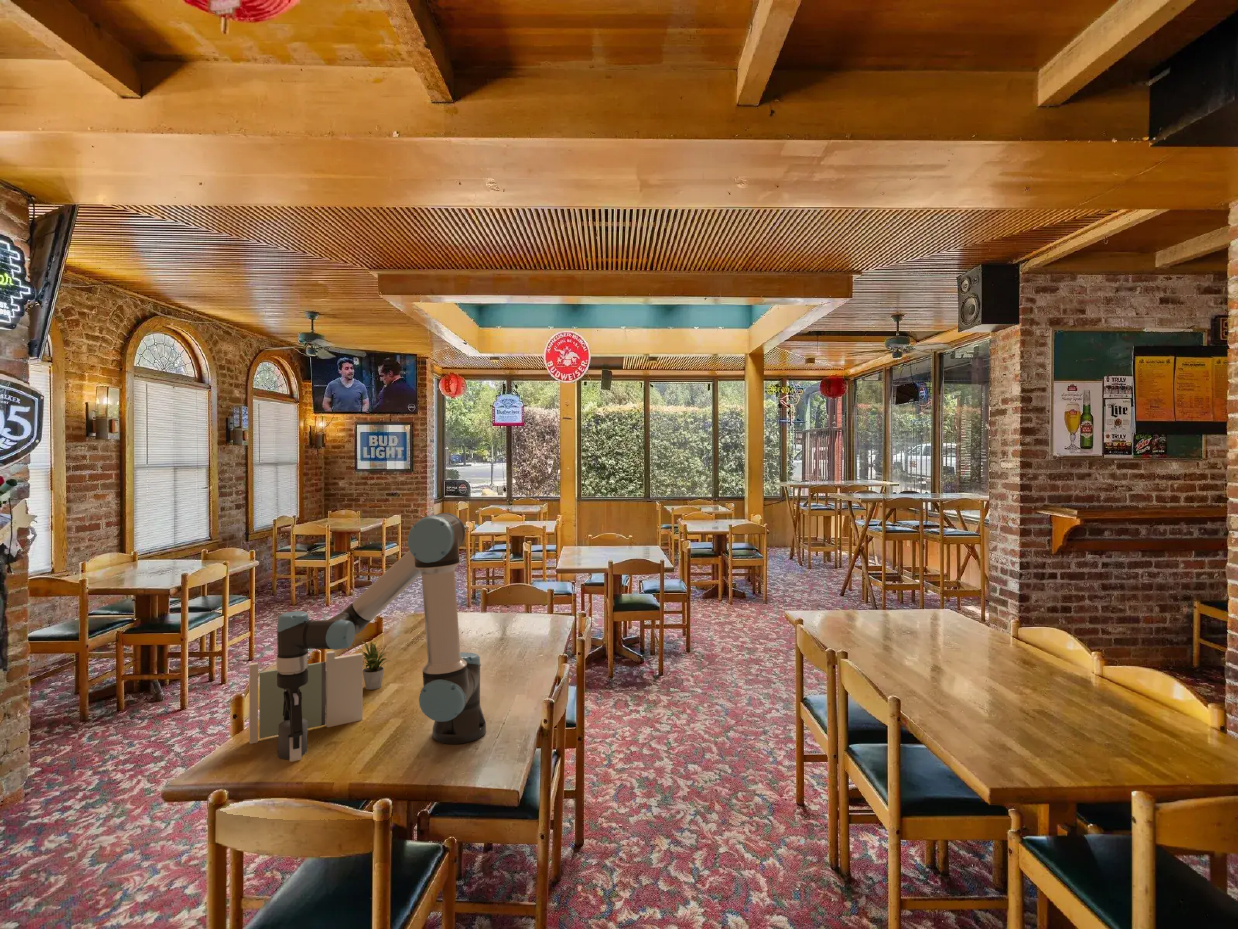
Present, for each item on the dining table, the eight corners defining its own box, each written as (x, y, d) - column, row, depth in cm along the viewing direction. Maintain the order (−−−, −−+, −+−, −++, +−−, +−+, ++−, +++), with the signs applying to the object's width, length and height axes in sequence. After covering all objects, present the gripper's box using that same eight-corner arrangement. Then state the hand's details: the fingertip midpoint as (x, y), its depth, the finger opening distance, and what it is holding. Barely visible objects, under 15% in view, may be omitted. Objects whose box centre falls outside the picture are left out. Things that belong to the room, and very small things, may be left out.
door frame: (362, 720, 195) (362, 648, 195) (249, 744, 178) (249, 665, 178) (361, 717, 197) (361, 646, 197) (249, 741, 180) (249, 663, 180)
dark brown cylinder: (308, 755, 172) (308, 725, 172) (278, 761, 168) (279, 730, 168) (305, 745, 178) (305, 716, 178) (276, 751, 174) (277, 721, 174)
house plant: (339, 688, 223) (339, 641, 223) (374, 677, 234) (374, 633, 234) (364, 697, 215) (364, 648, 215) (399, 685, 226) (399, 639, 226)
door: (325, 724, 190) (326, 662, 190) (259, 738, 180) (260, 673, 180) (325, 723, 191) (325, 661, 191) (259, 737, 181) (259, 671, 181)
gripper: (315, 679, 165) (315, 764, 165) (301, 657, 184) (301, 733, 184) (282, 685, 161) (282, 772, 161) (271, 661, 180) (271, 740, 180)
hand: (292, 752), depth 173 cm, fingers open, 10 cm apart
